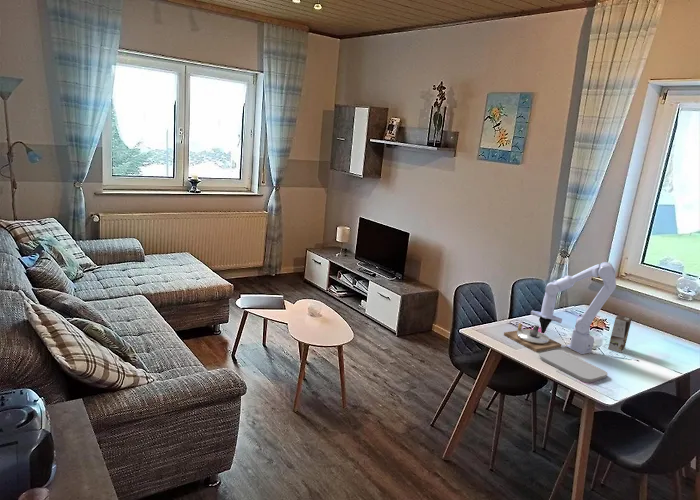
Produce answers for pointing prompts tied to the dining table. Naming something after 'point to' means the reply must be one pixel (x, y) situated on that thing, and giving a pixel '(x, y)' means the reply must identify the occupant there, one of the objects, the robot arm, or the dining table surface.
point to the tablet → (573, 365)
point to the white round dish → (537, 339)
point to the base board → (532, 346)
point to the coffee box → (619, 333)
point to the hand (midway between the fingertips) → (543, 332)
